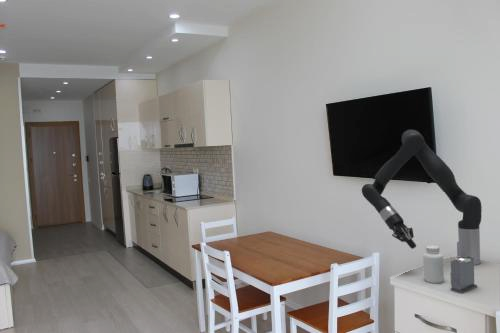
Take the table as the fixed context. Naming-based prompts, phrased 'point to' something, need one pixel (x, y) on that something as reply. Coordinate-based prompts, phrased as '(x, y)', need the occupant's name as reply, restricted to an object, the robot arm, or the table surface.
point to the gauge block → (462, 274)
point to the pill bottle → (433, 265)
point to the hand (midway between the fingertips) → (414, 247)
